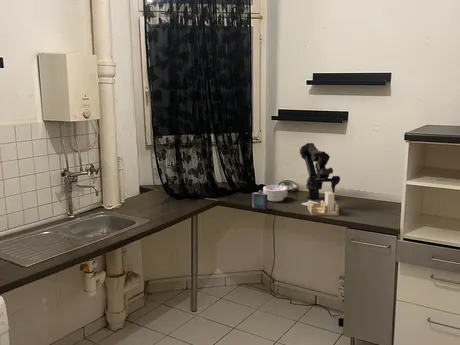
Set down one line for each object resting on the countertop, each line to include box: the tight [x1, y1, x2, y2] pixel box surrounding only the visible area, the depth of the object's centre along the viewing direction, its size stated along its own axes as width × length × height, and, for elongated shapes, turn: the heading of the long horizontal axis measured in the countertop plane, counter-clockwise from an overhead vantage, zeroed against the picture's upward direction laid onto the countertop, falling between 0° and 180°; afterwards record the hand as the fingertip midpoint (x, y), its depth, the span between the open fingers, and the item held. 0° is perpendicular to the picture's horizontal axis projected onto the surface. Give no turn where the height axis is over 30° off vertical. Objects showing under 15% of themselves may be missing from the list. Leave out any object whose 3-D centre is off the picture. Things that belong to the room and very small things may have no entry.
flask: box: [252, 189, 268, 210], centre depth 276 cm, size 9×3×11 cm, turn 65°
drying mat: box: [301, 200, 318, 207], centre depth 283 cm, size 12×9×1 cm
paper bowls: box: [262, 184, 289, 202], centre depth 295 cm, size 15×15×8 cm
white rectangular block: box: [324, 191, 335, 211], centre depth 268 cm, size 4×6×10 cm, turn 6°
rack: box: [307, 199, 340, 217], centre depth 269 cm, size 14×15×5 cm
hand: (326, 192), depth 274 cm, fingers open, 9 cm apart
